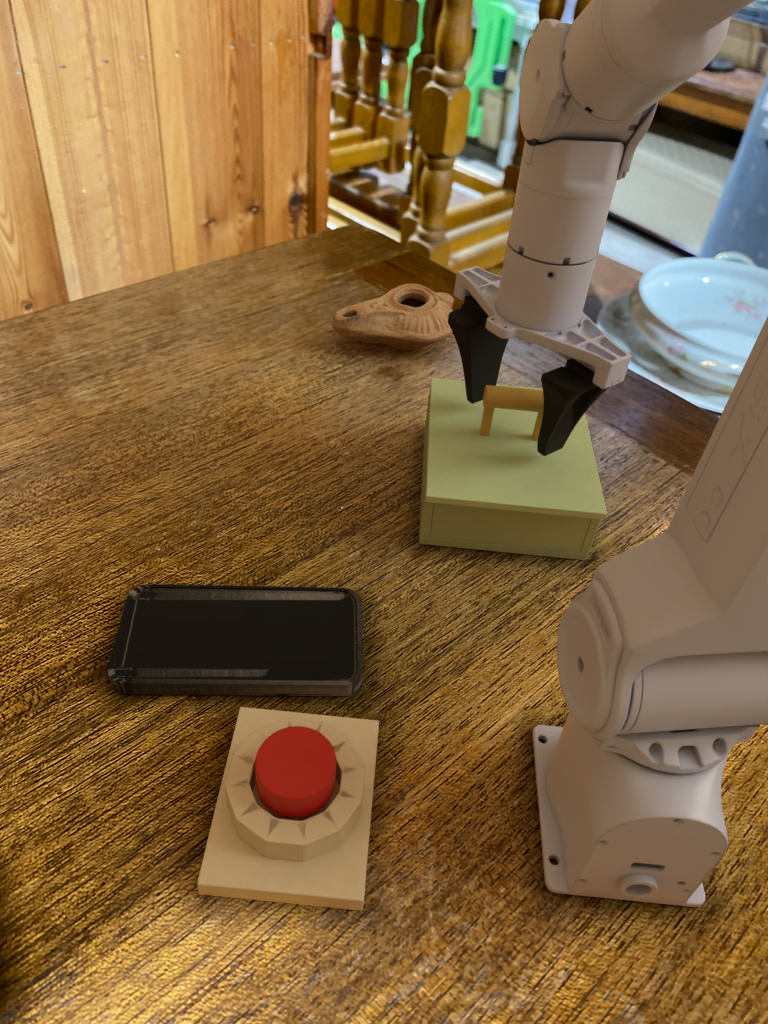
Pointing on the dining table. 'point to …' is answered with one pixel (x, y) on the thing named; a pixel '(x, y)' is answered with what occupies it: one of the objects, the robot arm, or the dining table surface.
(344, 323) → the pottery oil lamp
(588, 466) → the compartment door
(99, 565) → the dining table surface
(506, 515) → the compartment
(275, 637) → the phone
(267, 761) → the release button
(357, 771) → the block
